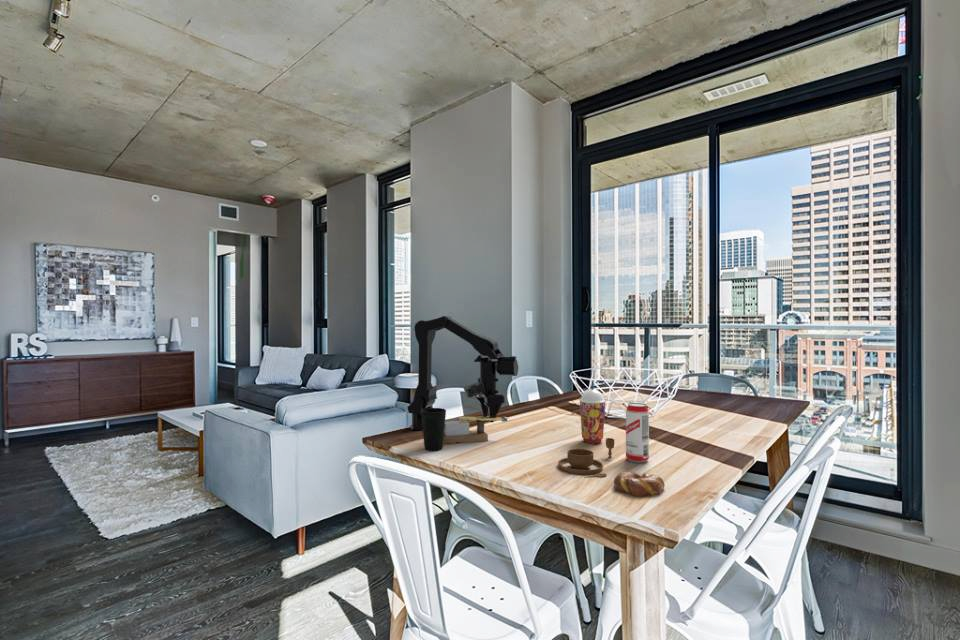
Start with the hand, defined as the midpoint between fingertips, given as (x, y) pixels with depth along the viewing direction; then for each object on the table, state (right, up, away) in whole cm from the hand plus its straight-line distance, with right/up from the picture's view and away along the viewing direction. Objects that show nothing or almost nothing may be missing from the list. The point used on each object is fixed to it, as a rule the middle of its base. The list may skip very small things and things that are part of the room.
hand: (488, 419), depth 166 cm
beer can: (+42, -6, -30) cm, 52 cm away
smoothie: (+34, -6, -9) cm, 36 cm away
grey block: (-11, -3, -8) cm, 14 cm away
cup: (-17, -5, -19) cm, 26 cm away
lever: (-2, +1, -6) cm, 6 cm away
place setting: (+28, -6, -36) cm, 46 cm away
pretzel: (+35, -6, -53) cm, 63 cm away
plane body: (-9, -5, -8) cm, 13 cm away
